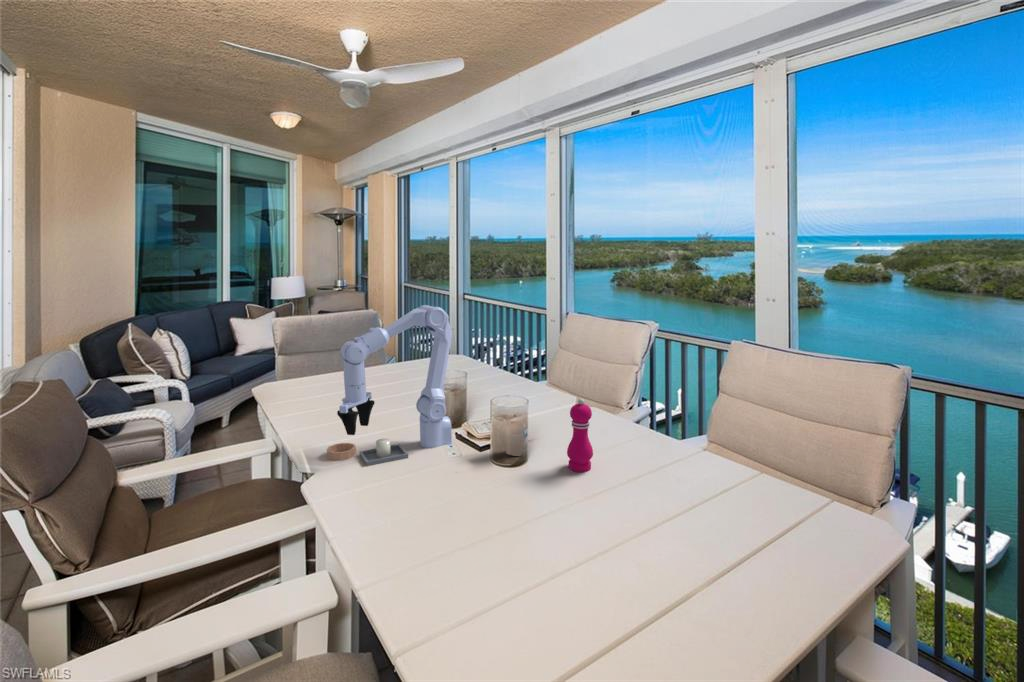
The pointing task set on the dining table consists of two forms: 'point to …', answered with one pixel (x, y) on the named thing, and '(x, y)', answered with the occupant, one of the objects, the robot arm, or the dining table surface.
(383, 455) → the pale grey rounded cylinder
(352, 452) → the bowl
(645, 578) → the dining table surface
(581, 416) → the pepper mill
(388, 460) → the parts tray
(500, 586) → the dining table surface
